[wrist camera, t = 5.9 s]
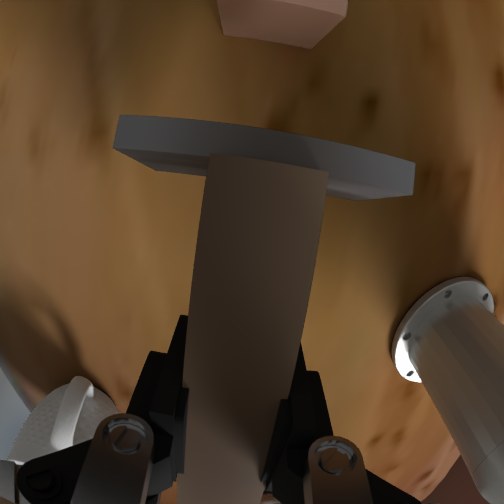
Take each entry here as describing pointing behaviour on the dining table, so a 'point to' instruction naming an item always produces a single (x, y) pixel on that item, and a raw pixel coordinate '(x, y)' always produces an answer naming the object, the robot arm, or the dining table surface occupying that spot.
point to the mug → (62, 420)
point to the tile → (281, 19)
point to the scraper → (249, 277)
